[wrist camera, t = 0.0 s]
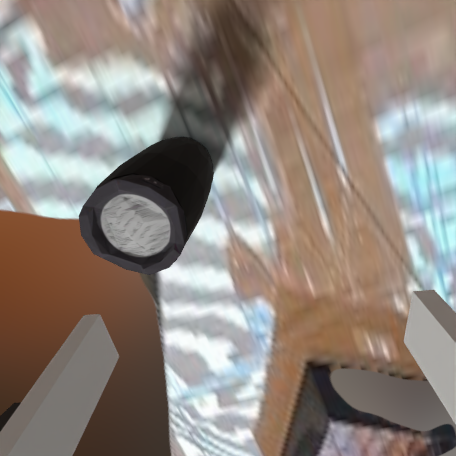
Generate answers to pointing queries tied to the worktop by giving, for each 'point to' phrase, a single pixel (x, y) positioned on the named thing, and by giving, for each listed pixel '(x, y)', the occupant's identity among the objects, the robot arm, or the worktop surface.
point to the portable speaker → (149, 206)
